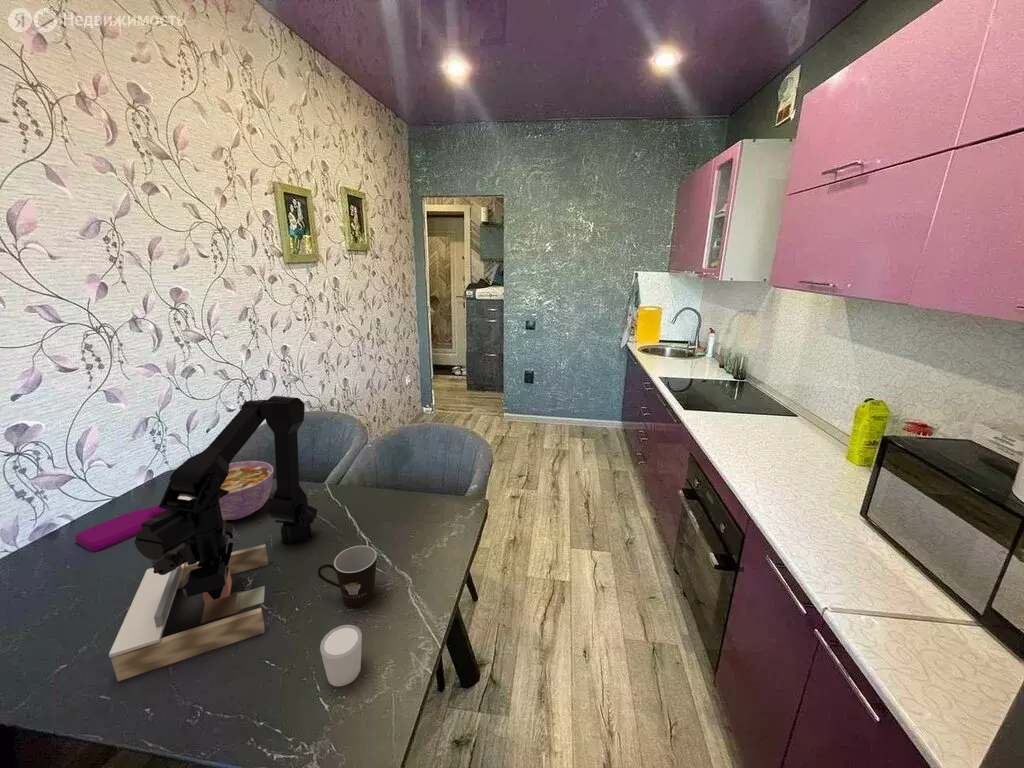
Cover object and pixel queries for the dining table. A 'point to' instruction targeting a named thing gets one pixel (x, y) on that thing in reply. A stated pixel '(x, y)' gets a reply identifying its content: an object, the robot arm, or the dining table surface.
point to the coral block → (225, 590)
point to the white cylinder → (342, 654)
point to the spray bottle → (117, 528)
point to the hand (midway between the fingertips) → (218, 590)
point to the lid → (148, 611)
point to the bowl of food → (246, 488)
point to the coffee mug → (354, 575)
